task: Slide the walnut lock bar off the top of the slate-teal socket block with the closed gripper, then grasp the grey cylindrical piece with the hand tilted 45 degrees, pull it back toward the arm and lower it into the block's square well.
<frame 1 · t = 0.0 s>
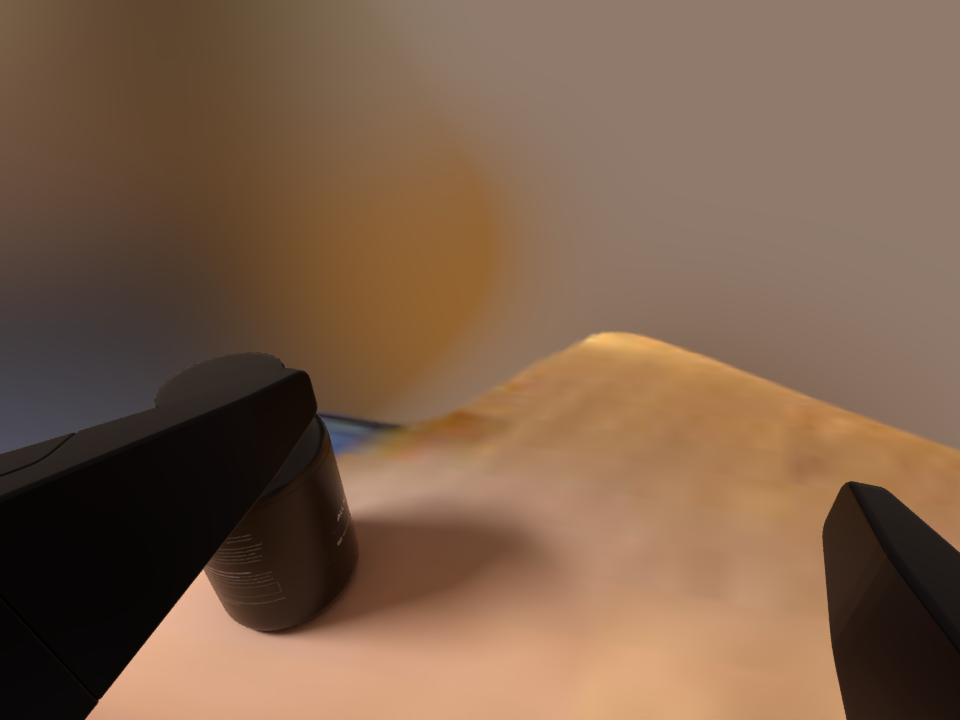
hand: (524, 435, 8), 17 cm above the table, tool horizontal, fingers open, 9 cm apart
supplement bottle: (295, 573, 25), on the table
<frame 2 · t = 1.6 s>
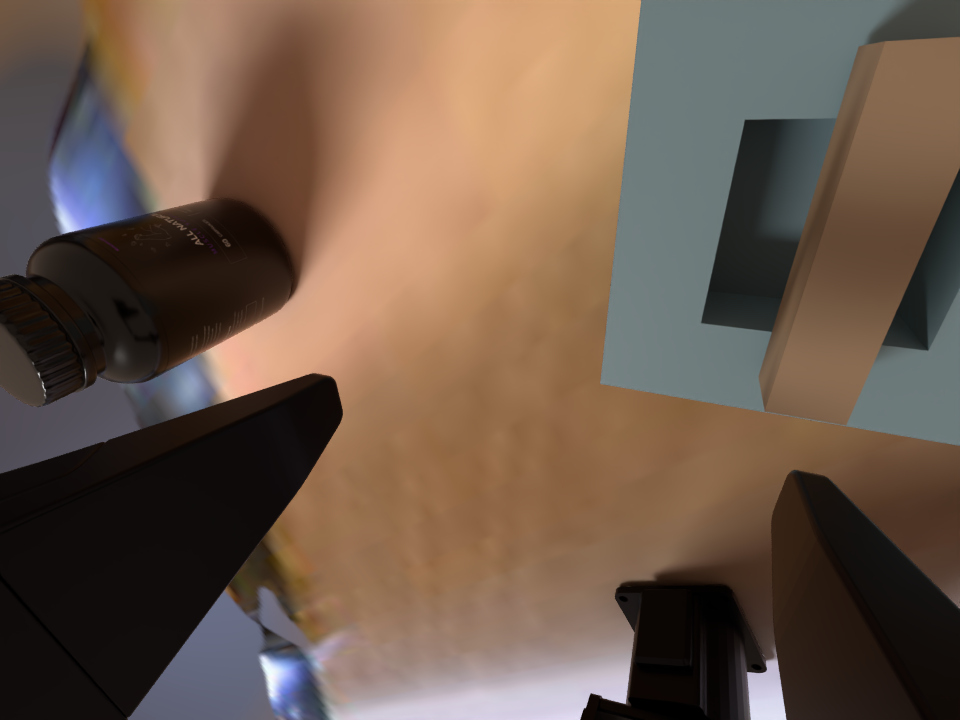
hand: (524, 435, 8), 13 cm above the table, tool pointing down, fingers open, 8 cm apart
socket: (815, 210, 16), on the table
lock bar: (851, 253, 12), point 5 cm above the table, slide at 0.0 cm
supplement bottle: (250, 255, 27), on the table
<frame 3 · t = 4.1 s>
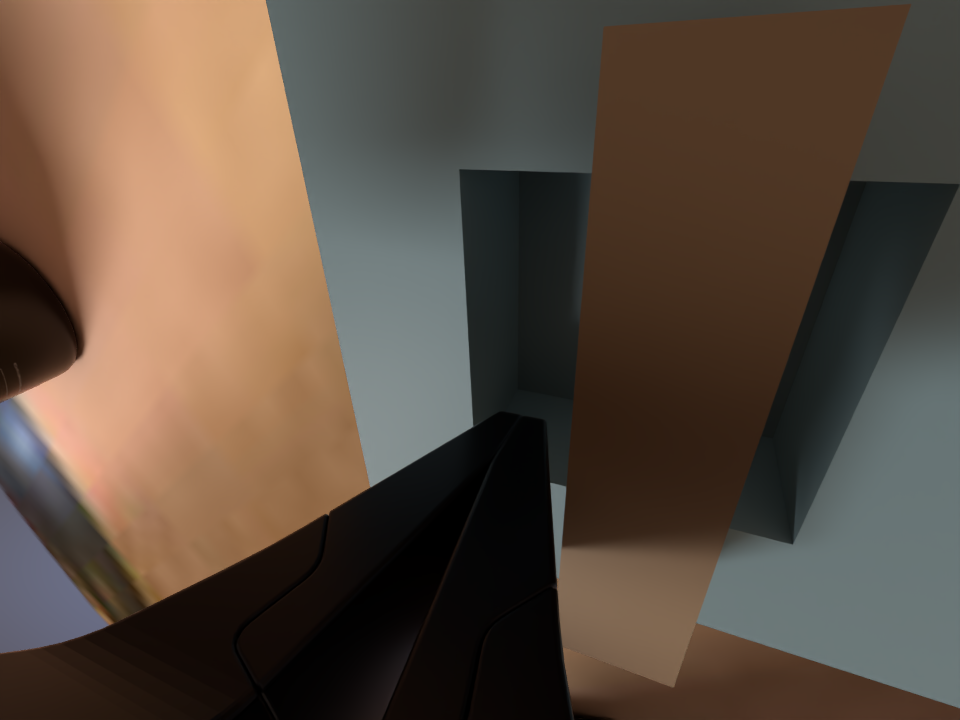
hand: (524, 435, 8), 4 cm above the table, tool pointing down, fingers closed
socket: (654, 290, 10), on the table
lock bar: (656, 421, 7), point 5 cm above the table, slide at 0.4 cm, touching gripper
supplement bottle: (29, 301, 22), on the table
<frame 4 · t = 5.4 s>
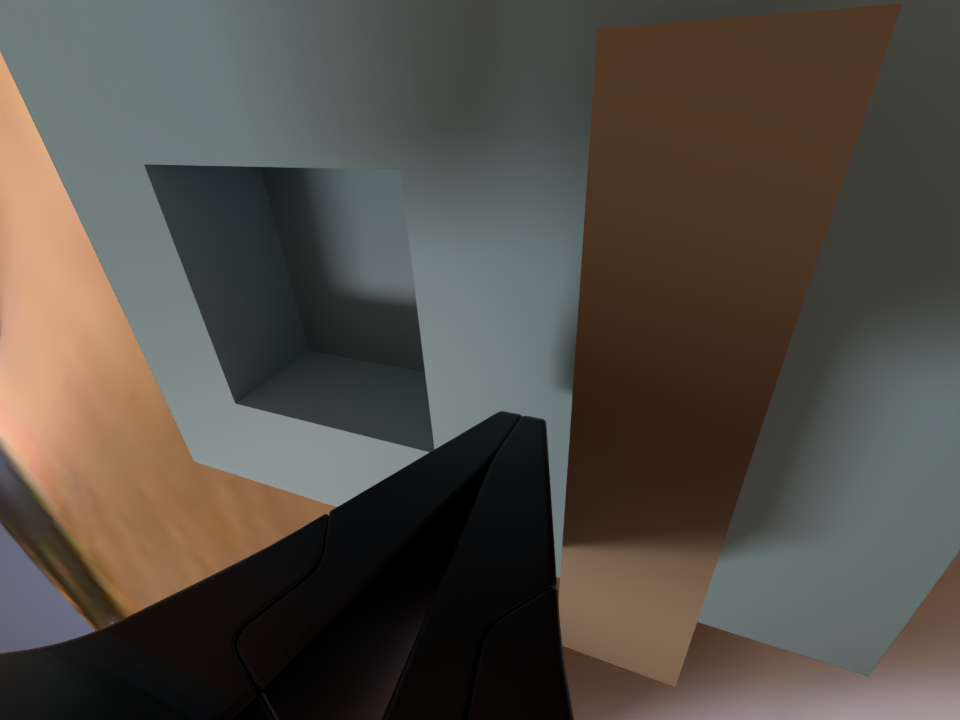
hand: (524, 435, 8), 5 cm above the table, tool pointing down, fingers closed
socket: (383, 262, 13), on the table
lock bar: (656, 421, 7), point 5 cm above the table, slide at 7.4 cm, touching gripper
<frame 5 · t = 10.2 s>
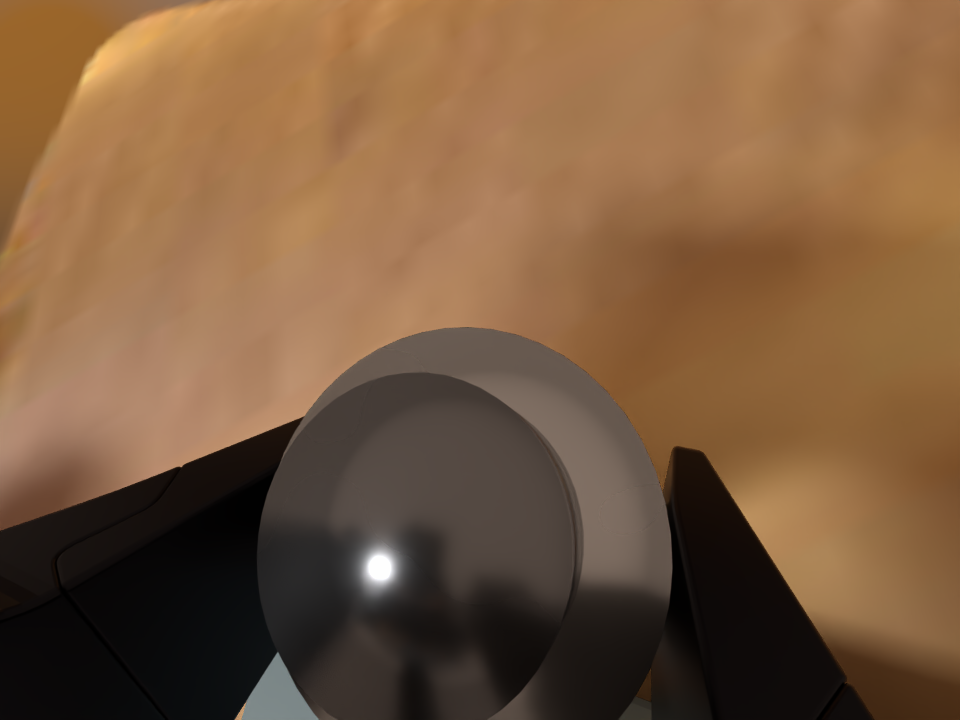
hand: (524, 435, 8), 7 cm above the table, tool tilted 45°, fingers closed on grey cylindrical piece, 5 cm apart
grey cylindrical piece: (561, 508, 14), on the table, touching gripper
when the fingers open (8 cm above the table, at t = 13.5 s): grey cylindrical piece drops 1 cm, resting on socket.
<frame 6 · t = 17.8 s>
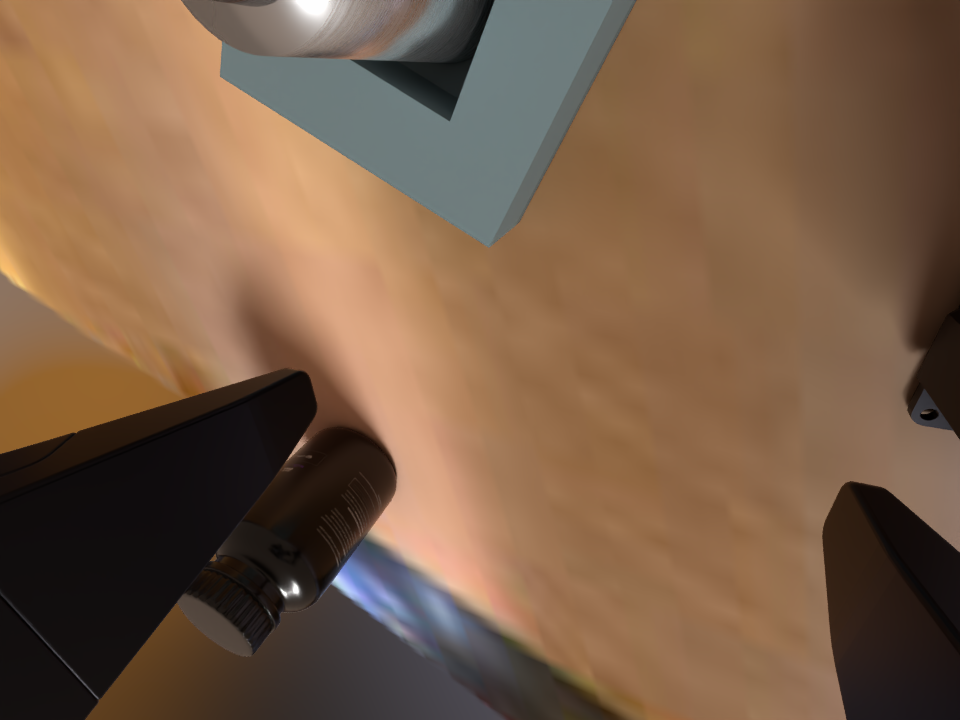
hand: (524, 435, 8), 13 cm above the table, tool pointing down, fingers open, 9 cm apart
supplement bottle: (358, 461, 33), on the table
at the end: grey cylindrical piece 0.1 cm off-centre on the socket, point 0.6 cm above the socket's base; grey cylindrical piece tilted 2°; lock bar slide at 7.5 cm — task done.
